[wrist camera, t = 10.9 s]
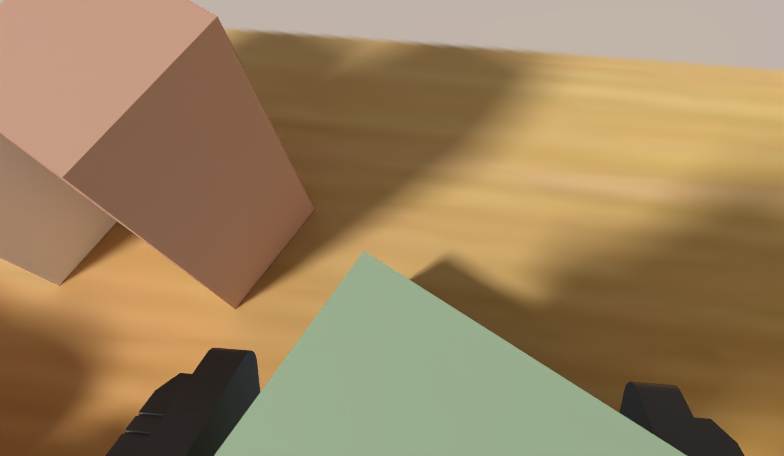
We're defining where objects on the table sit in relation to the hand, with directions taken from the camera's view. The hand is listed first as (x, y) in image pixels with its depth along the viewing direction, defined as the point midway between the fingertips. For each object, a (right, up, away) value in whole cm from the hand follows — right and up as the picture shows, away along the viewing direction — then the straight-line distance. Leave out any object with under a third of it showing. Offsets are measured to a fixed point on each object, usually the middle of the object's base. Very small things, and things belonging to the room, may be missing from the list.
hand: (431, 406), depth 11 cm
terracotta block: (-7, +3, +11) cm, 13 cm away
